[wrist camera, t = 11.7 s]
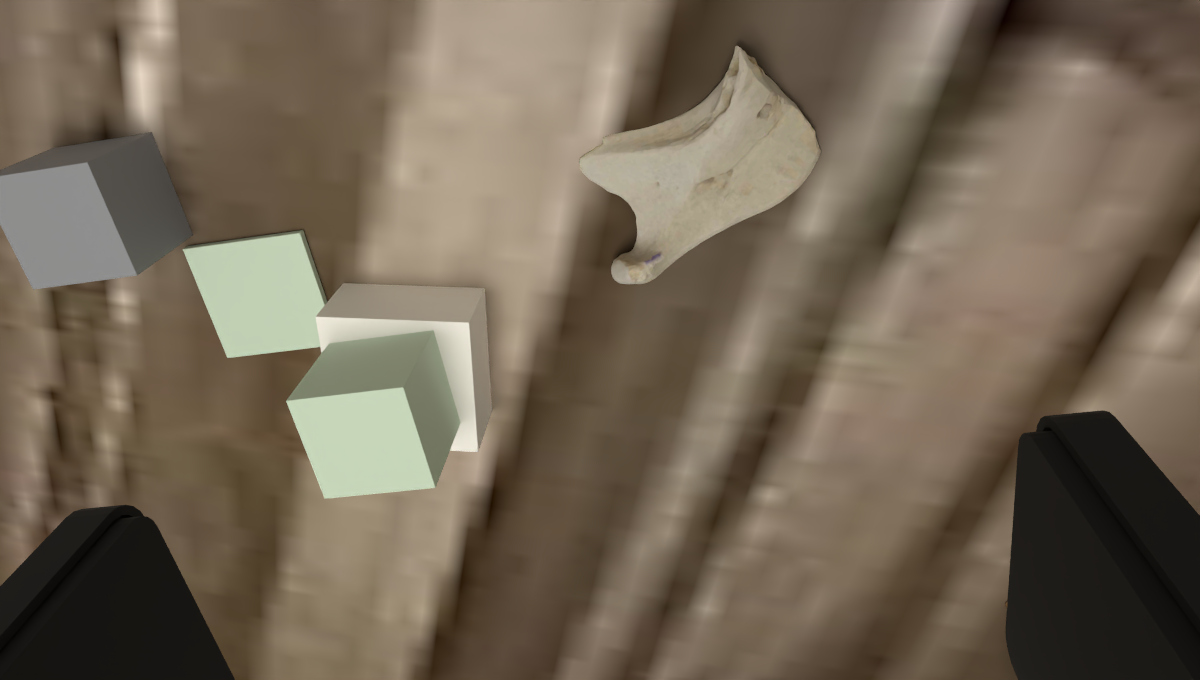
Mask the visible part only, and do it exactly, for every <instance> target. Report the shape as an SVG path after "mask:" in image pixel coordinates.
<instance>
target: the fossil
mask: <svg viewBox="0 0 1200 680" xmlns="http://www.w3.org/2000/svg"><path fill="white" fill-rule="evenodd" d="M602 142H603V144H602V145H600V146H597V147H595V148H594V149H593V150H592V151H590V152H588V153H587V154H585V155H584V156H583V157H582V158H581V159H580V161H579V163H580V169H581V171H582V172H583V173H584V174H585V175H586V176H587V178H588V179H590V180H591V181H593V182H595V183H596V184H598V185H600V186H601V187H603V188H604V189H605V190H607V191H608V192H611V193H614V194H617V195H619V196H621V197H622V198H623V199H624V200H625V201H627V202H628V203H629V205H630V206H631V208H632V210H633V211H634V213H635V215H636V218H637V219H636V224H637V239H636V243H635V246H634V248H633V249H632V251H631V252H628V253H624V254H621V255H620V256H619V257H618V258H616V259H615V260H614V261H613V264H612V267H611V273H612V277H613V278H614V280H615V281H617V282H618V283H621V284H643V283H647V282H649V281H651V280H653V279H655V278H656V277H657V276H659V275H660V274H661V273H662V272H663V271H664V270H665V269H666V268H667V267H669V266H670V265H671V264H672V263H673V262H675V261H676V260H677V259H678V258H680V257H681V256H682V255H684V254H685V253H686V252H688V251H689V250H691V249H692V248H694V247H696V246H697V245H699V244H700V243H701V242H703V241H705V240H706V239H708V238H710V237H712V236H713V235H715V234H717V233H719V232H721V231H723V230H725V229H727V228H728V227H730V226H732V225H734V224H736V223H738V222H740V221H743V220H745V219H747V218H749V217H751V216H754V215H756V214H758V213H761V212H763V211H765V210H767V209H770V208H771V207H773V206H775V205H777V204H779V203H780V202H782V201H783V200H784V199H786V198H787V197H788V196H789V195H791V194H792V193H793V192H794V191H796V190H797V189H798V188H799V187H800V186H801V185H802V184H803V182H804V181H805V180H806V179H807V178H808V176H809V174H810V173H811V171H812V170H813V168H814V166H815V164H816V161H817V160H818V158H819V155H820V154H821V151H820V148H819V144H818V142H817V139H816V136H815V130H814V129H813V128H812V127H811V125H810V123H809V122H808V121H807V119H806V118H805V117H804V115H803V114H802V113H801V111H800V110H799V108H798V107H797V106H796V104H795V103H794V102H793V101H791V100H790V99H789V98H788V97H787V96H786V95H785V94H784V93H783V92H782V91H781V89H780V88H779V87H778V86H777V85H776V83H775V82H774V81H773V80H772V79H771V78H769V77H768V76H767V75H765V73H764V71H763V69H762V68H760V67H759V66H758V64H757V62H756V60H755V58H754V57H750V56H749V55H747V54H746V52H745V51H743V50H742V49H741V48H740V47H739V46H735V52H734V55H733V58H732V61H731V64H730V66H729V70H728V71H727V72H726V74H725V77H724V78H723V79H722V81H721V82H720V83H719V85H718V86H717V87H716V88H715V89H714V90H713V91H712V92H711V94H710V95H709V96H708V97H707V98H706V99H705V100H704V101H702V102H701V103H700V104H699V105H697V106H696V107H694V108H693V109H691V110H689V111H688V112H685V113H683V114H682V115H679V116H677V117H675V118H673V119H671V120H667V121H665V122H663V123H659V124H657V125H654V126H650V127H647V128H643V129H638V130H632V131H626V132H622V133H617V134H612V135H608V136H605V137H603V140H602Z"/></svg>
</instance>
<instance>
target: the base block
mask: <svg viewBox="0 0 1200 680" xmlns="http://www.w3.org/2000/svg"><path fill="white" fill-rule="evenodd" d="M316 323H317V329H318V335H319V341H320V347H321V353H322V352H323V351H324V350H325V348H326V347H327V346H328V344H329V343H336V342H344V341H352V340H360V339H368V338H376V337H384V336H392V335H399V334H407V333H415V332H423V331H431V330H434V334H435V337H436V340H437V344H438V347H439V351H440V354H441V358H442V361H443V364H444V368H445V371H446V375H447V378H448V382H449V385H450V388H451V392H452V395H453V399H454V402H455V406H456V409H457V412H458V416H459V419H460V426H459V428H458V431H457V433H456V436H455V439H454V441H453V444H452V446H451V449H450V451H469V452H478V451H479V448H480V445H481V442H482V439H483V436H484V433H485V430H486V427H487V424H488V421H489V418H490V415H491V412H492V401H491V384H490V367H489V350H488V333H487V316H486V299H485V288H465V287H438V286H410V285H382V284H354V283H343V284H342V285H341V286H340V288H339V289H338V290H337V291H336V292H335V294H334V295H333V296H332V297H331V298H330V300H329V301H328V302H327V303H326V305H325V306H324V307H323V308H322V309H321V311H320V312H319V313H318V314H317V315H316Z"/></svg>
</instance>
